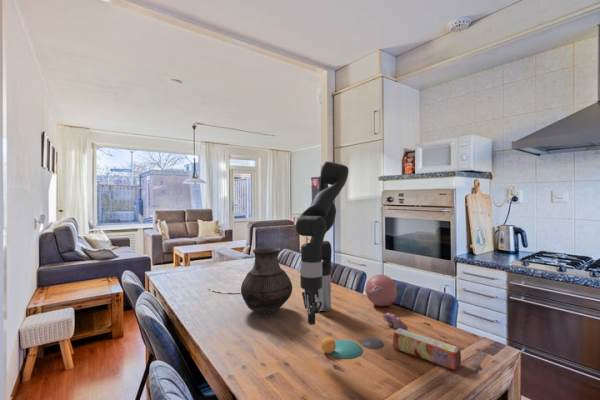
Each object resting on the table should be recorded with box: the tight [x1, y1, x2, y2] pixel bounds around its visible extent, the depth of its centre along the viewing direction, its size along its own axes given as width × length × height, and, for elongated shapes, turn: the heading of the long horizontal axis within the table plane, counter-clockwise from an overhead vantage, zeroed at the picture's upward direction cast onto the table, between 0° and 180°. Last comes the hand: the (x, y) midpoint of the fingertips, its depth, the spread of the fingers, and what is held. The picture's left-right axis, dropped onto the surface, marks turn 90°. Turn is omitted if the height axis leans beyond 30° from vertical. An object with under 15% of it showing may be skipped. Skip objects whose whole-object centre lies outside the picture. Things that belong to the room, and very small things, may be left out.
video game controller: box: [383, 312, 408, 331], centre depth 124 cm, size 10×5×7 cm, turn 22°
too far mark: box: [361, 337, 385, 349], centre depth 111 cm, size 8×8×1 cm
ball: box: [321, 337, 336, 354], centre depth 104 cm, size 5×5×5 cm
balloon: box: [364, 274, 398, 307], centre depth 149 cm, size 15×20×15 cm
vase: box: [240, 247, 293, 314], centre depth 143 cm, size 25×25×30 cm
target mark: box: [328, 339, 363, 360], centre depth 107 cm, size 13×13×1 cm
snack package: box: [392, 328, 462, 371], centre depth 101 cm, size 21×7×7 cm, turn 46°
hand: (311, 323), depth 103 cm, fingers closed
